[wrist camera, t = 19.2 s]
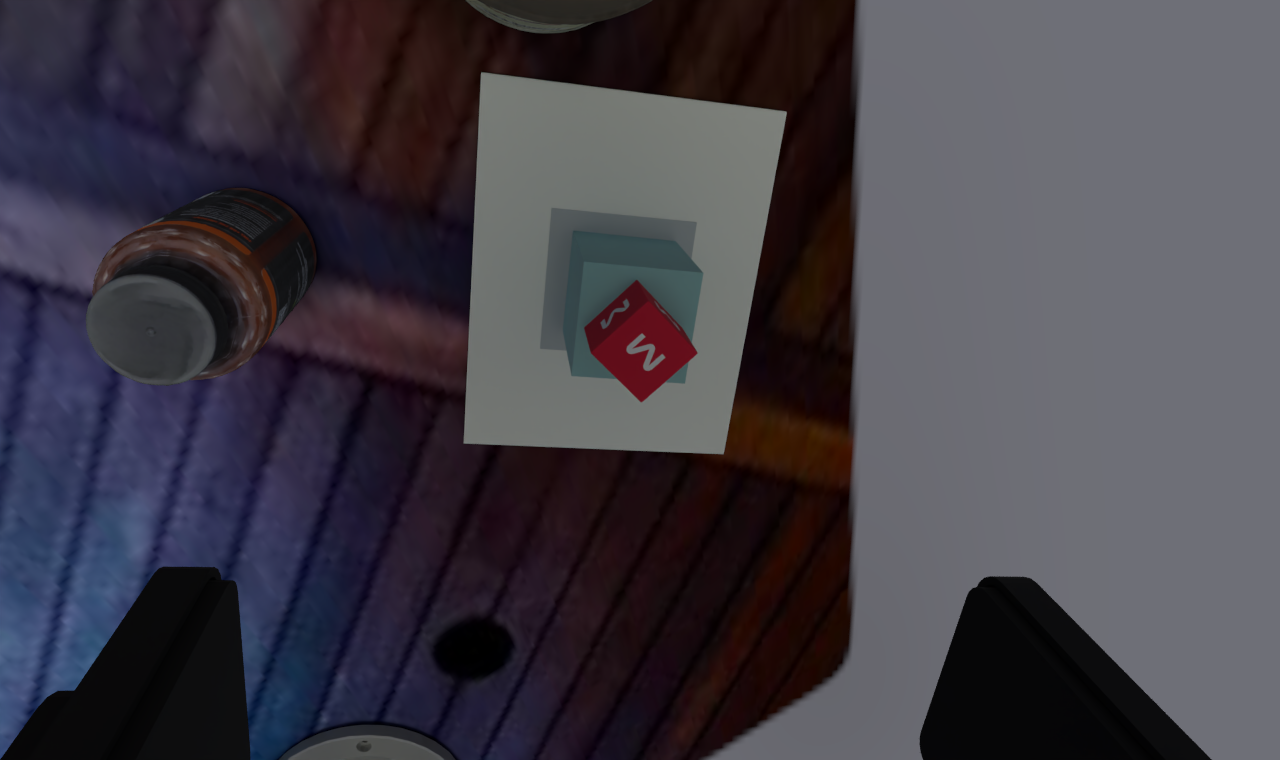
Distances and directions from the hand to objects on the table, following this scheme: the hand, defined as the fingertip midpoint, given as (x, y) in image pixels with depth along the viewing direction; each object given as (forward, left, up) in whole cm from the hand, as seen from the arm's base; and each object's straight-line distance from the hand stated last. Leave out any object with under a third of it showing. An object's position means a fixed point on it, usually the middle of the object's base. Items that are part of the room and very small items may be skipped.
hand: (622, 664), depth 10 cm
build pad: (-3, -4, -30) cm, 31 cm away
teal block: (-3, -4, -29) cm, 30 cm away
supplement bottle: (-3, +13, -31) cm, 33 cm away
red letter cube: (-3, -4, -23) cm, 24 cm away
